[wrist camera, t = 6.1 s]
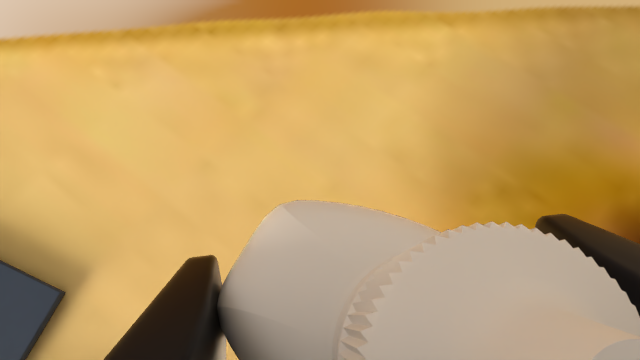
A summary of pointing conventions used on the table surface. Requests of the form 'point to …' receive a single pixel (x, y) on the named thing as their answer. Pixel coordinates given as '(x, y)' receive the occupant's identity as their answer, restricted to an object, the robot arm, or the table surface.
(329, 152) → the table surface
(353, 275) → the eye dropper bottle
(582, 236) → the robot arm
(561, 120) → the table surface
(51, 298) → the placemat
